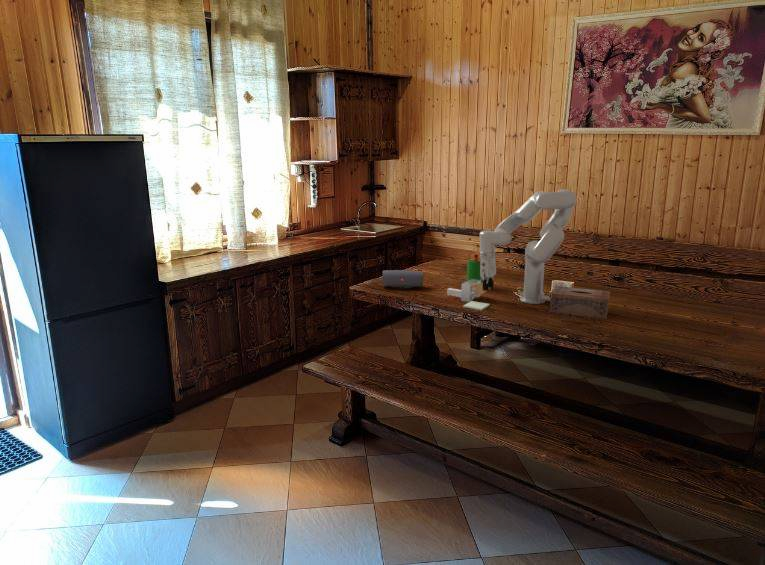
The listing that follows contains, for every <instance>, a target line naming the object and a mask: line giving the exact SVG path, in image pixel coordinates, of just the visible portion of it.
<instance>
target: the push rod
mask: <svg viewBox="0 0 765 565" xmlns="http://www.w3.org/2000/svg"><path fill="white" fill-rule="evenodd" d="M446 290H447V291H446V296H450V295H451V296H450V297H455V296H456V298H461V289H457V288H450V287H448V288H447V289H446ZM475 298H476V297H475V292H472V301H474V299H475Z"/></svg>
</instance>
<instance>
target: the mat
mask: <svg viewBox="0 0 765 565" xmlns="http://www.w3.org/2000/svg"><path fill="white" fill-rule="evenodd" d="M462 306H463V308H466V309H472V310H477V311H483V310H485V309H487V308H489V307H490V306H491V305H490V303H487V302H480V301H474V300H472V301H471V302H466V303H465V304H463V305H462Z"/></svg>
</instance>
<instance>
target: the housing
mask: <svg viewBox="0 0 765 565" xmlns="http://www.w3.org/2000/svg"><path fill="white" fill-rule="evenodd" d="M479 284H481V280H477V279H471V280H469V281H467V280H466V281H464V282H462V283H461V286H460V287H461V288H460V290H461V297H460V301H461V302H466V303H469V302H471V301H473V300H472V292H475V297H474V298H477V299H478V298H480V297H481V295H479V294H478V292H477V291H476V289H475V288H474V287H476V286H477V285H479Z"/></svg>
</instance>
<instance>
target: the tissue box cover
mask: <svg viewBox="0 0 765 565" xmlns="http://www.w3.org/2000/svg"><path fill="white" fill-rule="evenodd" d="M550 294H551V295H550V307H549V313H553V312H554V313H555V314H561V313H564V314H563V315H569V314H571V315H570V316H577V315H580V317H585V316H587V318H593V317H596V319H601V318H603V319H602V320H607V319H606V318H608V314H609V313H608V311H609V307H610V306H609V304H610V295H611V291H608V290H600V289H588V288H579V287H571V286H569V287H568V286H560V285H555V286H554V288H553V289H552V291H551V293H550Z"/></svg>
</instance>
